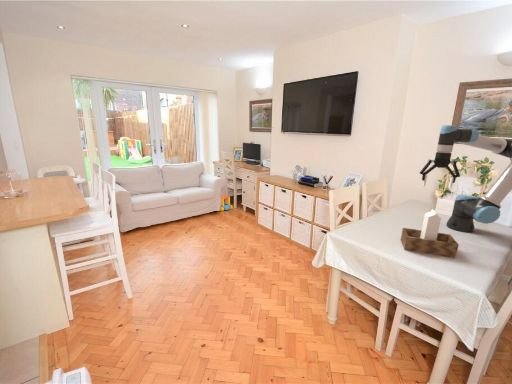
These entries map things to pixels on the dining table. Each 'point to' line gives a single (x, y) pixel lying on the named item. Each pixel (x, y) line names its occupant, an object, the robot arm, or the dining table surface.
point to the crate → (429, 243)
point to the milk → (430, 226)
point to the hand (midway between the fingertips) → (436, 186)
